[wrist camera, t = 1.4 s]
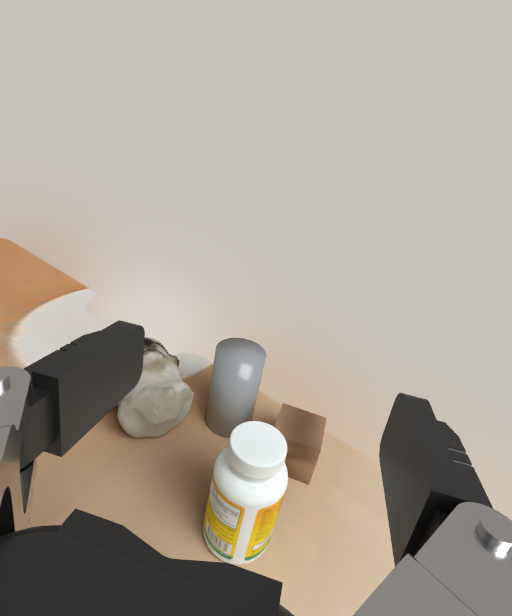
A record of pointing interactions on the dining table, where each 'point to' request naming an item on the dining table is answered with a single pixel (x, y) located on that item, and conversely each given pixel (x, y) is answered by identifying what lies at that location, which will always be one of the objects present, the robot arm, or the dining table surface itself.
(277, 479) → the supplement bottle
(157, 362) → the ceramic sculpture
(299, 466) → the walnut block
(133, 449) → the dining table surface
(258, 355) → the light grey cylinder
